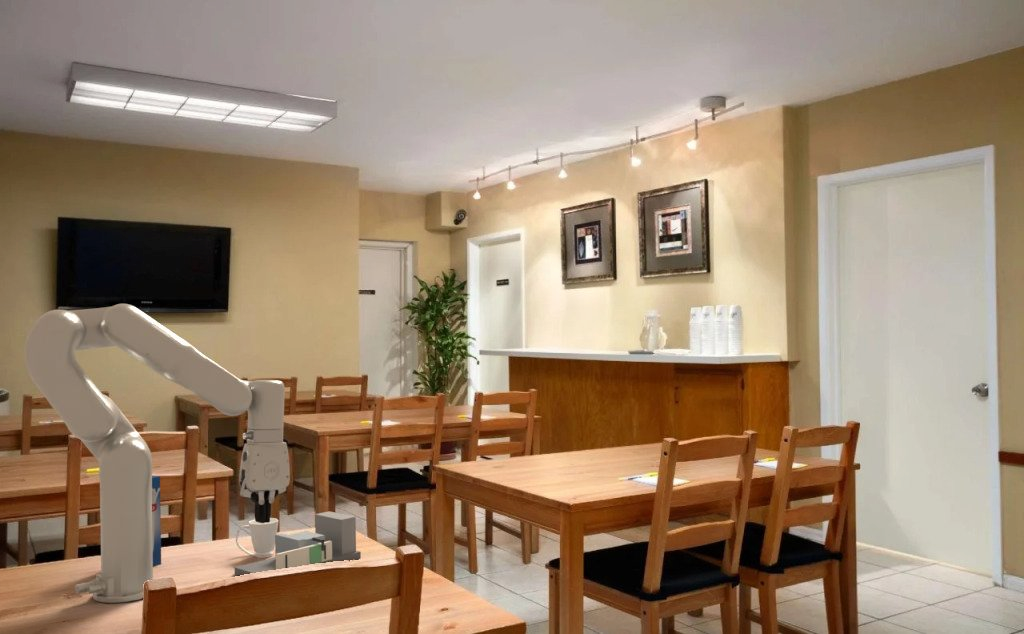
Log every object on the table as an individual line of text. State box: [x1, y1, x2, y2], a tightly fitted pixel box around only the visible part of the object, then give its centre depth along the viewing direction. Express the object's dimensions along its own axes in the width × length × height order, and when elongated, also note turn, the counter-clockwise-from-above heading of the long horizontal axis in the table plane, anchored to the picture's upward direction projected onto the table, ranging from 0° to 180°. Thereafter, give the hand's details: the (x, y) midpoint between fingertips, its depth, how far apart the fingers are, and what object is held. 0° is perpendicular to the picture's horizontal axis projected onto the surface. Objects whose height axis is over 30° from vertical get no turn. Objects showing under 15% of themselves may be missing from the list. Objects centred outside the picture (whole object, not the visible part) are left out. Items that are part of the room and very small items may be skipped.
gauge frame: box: [234, 510, 362, 576], centre depth 188 cm, size 25×12×10 cm, turn 139°
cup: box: [235, 517, 279, 559], centre depth 198 cm, size 7×10×8 cm
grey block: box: [274, 530, 325, 558], centre depth 188 cm, size 8×12×5 cm, turn 49°
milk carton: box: [152, 475, 162, 567], centre depth 190 cm, size 10×6×20 cm, turn 146°
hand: (262, 521), depth 182 cm, fingers closed
